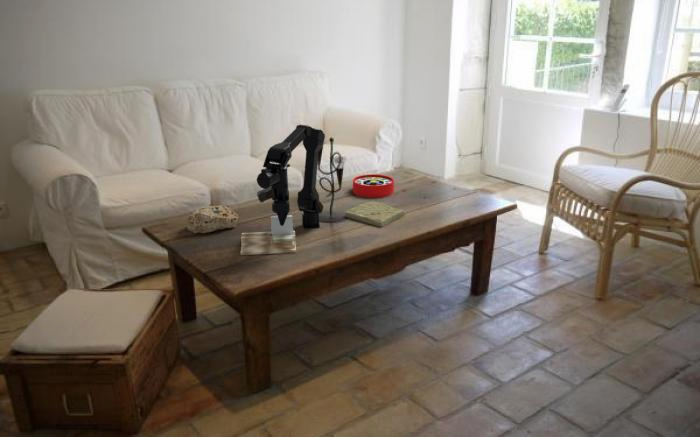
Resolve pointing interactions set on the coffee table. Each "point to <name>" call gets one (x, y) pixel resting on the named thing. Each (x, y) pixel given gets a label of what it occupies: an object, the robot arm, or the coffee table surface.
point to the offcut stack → (282, 242)
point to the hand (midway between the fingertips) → (281, 221)
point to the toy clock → (373, 185)
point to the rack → (261, 244)
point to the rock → (211, 219)
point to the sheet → (281, 230)
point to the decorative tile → (374, 213)
